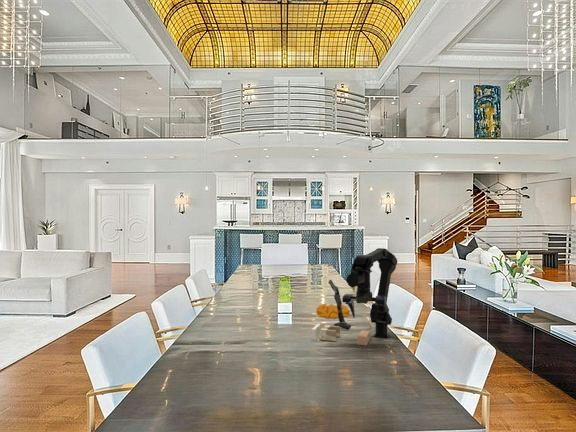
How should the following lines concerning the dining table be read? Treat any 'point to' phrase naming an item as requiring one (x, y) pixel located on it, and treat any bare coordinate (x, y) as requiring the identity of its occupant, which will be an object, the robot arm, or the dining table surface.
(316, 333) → the backstop
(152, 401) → the dining table surface
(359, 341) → the peg
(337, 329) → the block
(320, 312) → the decorative ornament
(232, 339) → the dining table surface
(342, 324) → the statue
